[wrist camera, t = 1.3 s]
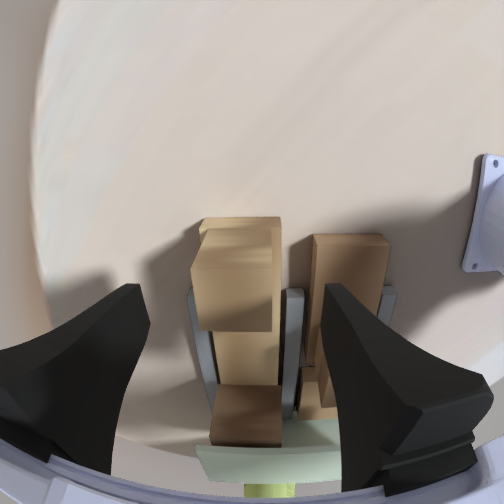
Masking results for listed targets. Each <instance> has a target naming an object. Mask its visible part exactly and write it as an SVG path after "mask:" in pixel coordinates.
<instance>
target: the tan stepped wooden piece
mask: <svg viewBox="0 0 504 504" xmlns="http://www.w3.org/2000/svg"><path fill="white" fill-rule="evenodd" d="M199 234H200V243H201V247H200V249H199V251H198V253H197V255H196V258H195V260H194V262H193V264H192V266H191V269H190V271H191V278H192V284H193V291H194V297H195V303H196V309H197V315H198V320H199V326H200V331H212V332H213V339H214V345H215V351H216V358H217V364H218V369H219V375H220V381H221V384H226V385H278V364H279V336H280V299H281V220H280V217H233V218H205V219H204V220H203V222H202V224H201V226H200V228H199Z"/></svg>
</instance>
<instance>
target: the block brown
mask: <svg viewBox="0 0 504 504" xmlns="http://www.w3.org/2000/svg"><path fill="white" fill-rule="evenodd" d="M390 248H391V245H390V244H389V243H388V241H387V240H386V239H385V238H384V237H383V235H382V234H313V248H312V264H311V278H310V291H309V303H308V314H307V324H306V334H305V344H304V353H305V361H306V364H315V368H316V374H317V381H318V388H319V396H320V403H321V408H332V407H337V405H336V399H335V394H334V390H333V386H332V382H331V378H330V374H329V370H328V366H327V362H326V358H325V354H324V350H323V345H322V337H321V329H320V322H321V315H322V307H323V298H324V289H325V284H327V283H341V284H342V285H343V286H344V287H345V288H347V289H348V290H349V291H350V292H351V293H352V294H353V295H354V296H355V297H356V298H357V299H358V300H359V301H360V302H361V303H362V304H363V305H364V306H365V307H366V308H367V309H368V310H369V311H370V312H371V313H373V314H374V315H375V316H376V314H377V310H378V306H379V302H380V297H381V293H382V288H383V284H384V279H385V274H386V269H387V264H388V259H389V253H390Z"/></svg>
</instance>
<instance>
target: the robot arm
mask: <svg viewBox="0 0 504 504" xmlns="http://www.w3.org/2000/svg"><path fill="white" fill-rule="evenodd" d="M494 160H495V164H494V166H493V162H494ZM474 263H475V264H474ZM473 264H474V265H473ZM462 269H463V270H464V271H465V272H467V273H471V272H486V271H499V272H500V273H501V274H503V275H504V157H500V156H497V155H492V154H485V155H484V156H483V159H482V168H481V176H480V183H479V190H478V196H477V202H476V208H475V213H474V218H473V223H472V227H471V232H470V236H469V240H468V244H467V248H466V252H465V256H464V260H463V263H462ZM149 328H150V320H149V317H148V313H147V310H146V306H145V302H144V299H143V295H142V291H141V287H140V284H125V285H123V286H121V287H119V288H118V289H116V290H115V291H113V292H112V293H110V294H109V295H107V296H106V297H104V298H103V299H102V300H100V301H99V302H97V303H96V304H94V305H93V306H91V307H90V308H89V309H87V310H85V311H84V312H82V313H81V314H79V315H78V316H76V317H75V318H73V319H72V320H70V321H68V322H67V323H65V324H63V325H61V326H60V327H58V328H56V329H54V330H52V331H50V332H48V333H46V334H44V335H41V336H39V337H37V338H35V339H32V340H30V341H28V342H25V343H22V344H19V345H16V346H13V347H10V348H7V349H3V350H0V490H1V491H2V492H4V493H5V494H7V495H8V496H9V497H11V498H12V499H13V500H15V501H16V502H18V503H19V504H504V435H502V436H499V437H497V438H496V439H493V440H491V441H489V442H487V443H485V444H483V445H481V446H479V447H478V448H476V449H475V450H473V447H472V444H471V443H473V442H474V440H475V436H474V434H473V432H472V430H473V429H474V428H475V427H476V426H477V425H478V423H479V422H480V421H481V420H482V419H483V417H484V416H485V415H486V414H487V412H488V411H489V409H490V408H491V405H492V403H493V400H494V397H493V396H494V395H493V393H492V392H491V390H490V388H489V386H488V384H487V382H486V381H485V379H484V377H483V375H482V374H479V373H476V372H473V371H470V370H467V369H464V368H461V367H458V366H456V365H453V364H451V363H449V362H446V361H444V360H442V359H440V358H438V357H436V356H433V355H431V354H430V353H428V352H426V351H424V350H422V349H421V348H419V347H417V346H415V345H414V344H412V343H411V342H409V341H407V340H406V339H405V338H403V337H402V336H400V335H399V334H397V333H396V332H394V331H393V330H392V329H390V328H389V327H388V326H387V325H386V324H384V323H383V322H382V321H381V320H379V319H378V318H377V317H376V316H375V315H374V314H373V313H371V312H370V311H369V310H368V309H367V308H366V307H365V306H364V305H363V304H362V303H361V302H360V301H359V300H358V299H357V298H356V297H355V296H354V295H353V294H352V293H351V292H350V291H349V290H348V289H347V288H345V287H344V286H343V285H342V284H341V283H327V284H325V289H324V298H323V307H322V315H321V322H320V329H321V337H322V345H323V350H324V354H325V358H326V362H327V366H328V370H329V374H330V378H331V382H332V386H333V390H334V394H335V399H336V405H337V413H338V422H339V434H340V447H341V477H342V490H341V493H335V494H327V495H317V496H305V497H286V498H244V497H226V496H213V495H204V494H196V493H188V492H181V491H175V490H170V489H164V488H158V487H154V486H149V485H145V484H140V483H136V482H132V481H128V480H124V479H121V478H117V477H114V476H111V463H112V451H113V445H114V438H115V431H116V426H117V422H118V417H119V412H120V408H121V405H122V401H123V397H124V394H125V391H126V388H127V385H128V383H129V381H130V378H131V376H132V373H133V371H134V369H135V366H136V364H137V362H138V359H139V357H140V355H141V352H142V350H143V348H144V345H145V342H146V339H147V335H148V331H149Z"/></svg>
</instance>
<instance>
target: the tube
mask: <svg viewBox="0 0 504 504" xmlns="http://www.w3.org/2000/svg"><path fill="white" fill-rule="evenodd" d="M294 491H295V483H289V484H246V483H244V498H286V497H294Z"/></svg>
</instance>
